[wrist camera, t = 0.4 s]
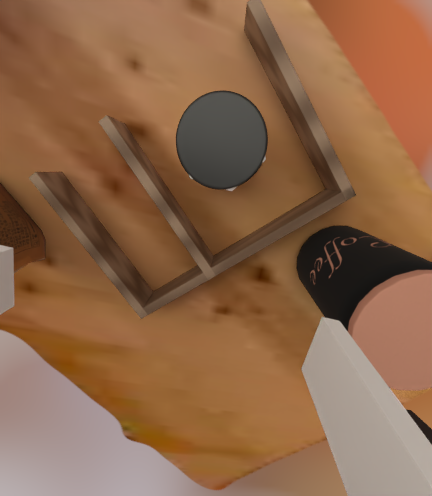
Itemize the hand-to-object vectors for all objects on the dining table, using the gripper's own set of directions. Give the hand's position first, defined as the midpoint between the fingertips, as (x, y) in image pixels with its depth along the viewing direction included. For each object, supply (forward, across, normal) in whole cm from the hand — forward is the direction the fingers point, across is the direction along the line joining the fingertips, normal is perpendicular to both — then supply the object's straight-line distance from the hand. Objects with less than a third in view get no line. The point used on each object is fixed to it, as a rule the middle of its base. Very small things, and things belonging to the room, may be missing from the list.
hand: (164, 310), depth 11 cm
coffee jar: (+26, +19, -3) cm, 32 cm away
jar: (+26, 0, +8) cm, 28 cm away
